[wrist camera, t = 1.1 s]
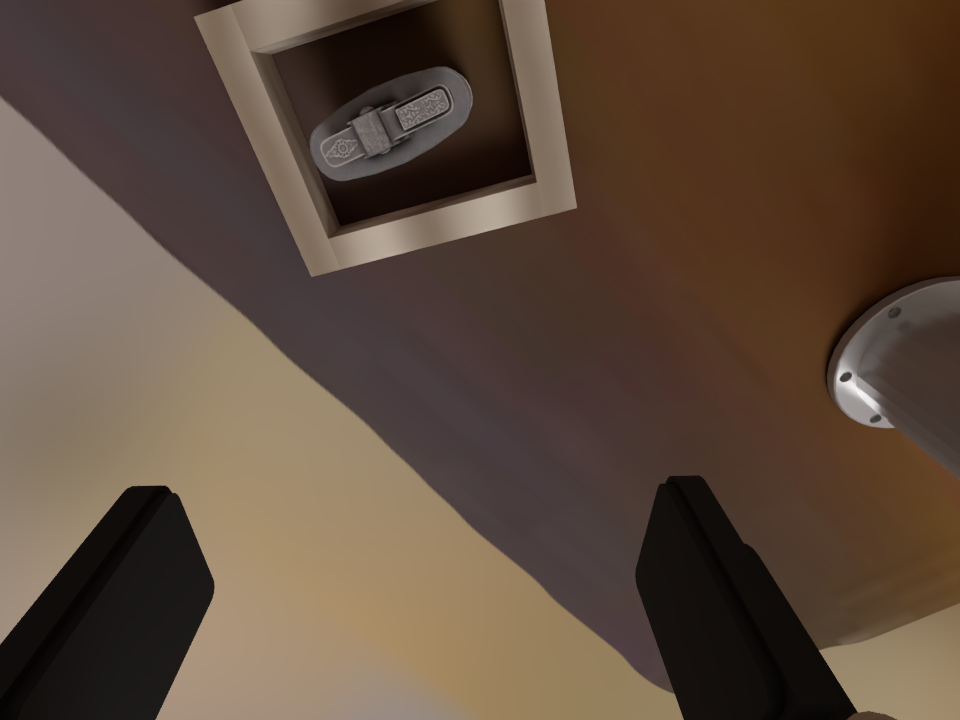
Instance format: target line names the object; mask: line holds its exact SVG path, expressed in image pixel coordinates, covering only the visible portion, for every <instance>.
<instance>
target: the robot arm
mask: <svg viewBox="0 0 960 720" xmlns="http://www.w3.org/2000/svg"><path fill="white" fill-rule="evenodd" d="M827 384H828V390H829V393H830V396H831V398H832V400H833V401H834V402H835V404H836V405H837V406H838V408H839V409H841V410H842V411H843V412H844V413H845V414H846V415H847V416H848V417H850V418H852V419H853V420H855V421H857V422H859V423H861V424H864V425H867V426H871V427H879V428H896V429H898V430H899V431H900V432H901V433H902V434H904V435H905V436H906V437H907V438H909V439H910V440H911V441H912V442H913V443H915V444H916V445H917V446H918V447H919V448H921V449H922V450H923V451H924V452H926V453H927V454H928V455H929V456H930V457H932V458H933V459H934V460H935V461H937V462H938V463H939V464H940V465H941V466H943V467H944V468H945V469H946V470H947V471H949V472H950V473H951V474H952V475H954V476H955V477H956V478H957V479H958V480H960V276H950V277H938V278H934V279H929V280H925V281H921V282H918V283H915V284H913V285H910V286H907V287H905V288H902V289H900V290H899V291H897V292H895V293H893V294H891V295H889V296H887V297H885V298H884V299H882V300H881V301H879V302H878V303H877V304H875V305H874V306H872V307H871V308H869V309H868V310H867V311H866V312H865V313H864V314H863V315H862V316H861V317H859V318H858V319H857V320H856V321H855V322H854V323H853V324H852V326H851V327H850V328H849V329H848V330H847V332H846V333H845V334H844V335H843V337H842V338H841V340H840V341H839V343H838V345H837V346H836V348H835V350H834V352H833V355H832V357H831V360H830V362H829V367H828V373H827ZM635 576H636V584H637V588H638V591H639V594H640V597H641V599H642V602H643V605H644V608H645V611H646V614H647V616H648V619H649V622H650V625H651V628H652V631H653V633H654V636H655V639H656V642H657V645H658V648H659V650H660V653H661V656H662V659H663V662H664V665H665V667H666V670H667V673H668V676H669V679H670V682H671V684H672V687H673V690H674V693H675V696H676V699H677V701H678V704H679V707H680V710H681V713H682V715H683V718H684V720H897V719H894V718H892V717H890V716H888V715H885V714H880V713H874V712H870V711H867V712H861V713H858V712H857V711H856V709H855V707H854V706H853V704H852V703H851V701H850V699H849V698H848V696H847V695H846V693H845V692H844V690H843V688H842V687H841V685H840V684H839V682H838V681H837V679H836V677H835V676H834V674H833V672H832V671H831V669H830V668H829V666H828V665H827V663H826V661H825V660H824V658H823V657H822V655H821V653H820V652H819V650H818V649H817V647H816V646H815V644H814V642H813V641H812V639H811V638H810V636H809V634H808V633H807V631H806V630H805V628H804V626H803V625H802V623H801V622H800V620H799V619H798V617H797V615H796V614H795V612H794V611H793V609H792V607H791V606H790V604H789V603H788V601H787V600H786V598H785V596H784V595H783V593H782V592H781V590H780V588H779V587H778V585H777V584H776V582H775V581H774V579H773V577H772V576H771V574H770V573H769V571H768V569H767V568H766V566H765V565H764V563H763V562H762V560H761V558H760V557H759V555H758V554H757V553H756V552H755V550H754V549H753V548H752V547H750V546H749V545H747V544H744V543H743V542H742V540H741V538H740V537H739V535H738V533H737V532H736V530H735V529H734V527H733V525H732V524H731V522H730V520H729V519H728V517H727V516H726V514H725V512H724V511H723V509H722V507H721V506H720V504H719V503H718V501H717V499H716V498H715V496H714V494H713V493H712V491H711V490H710V488H709V486H708V485H707V483H706V481H705V480H704V479H703V478H702V477H701V476H670V477H669V478H668V479H667V481H666V484H660V485H659V487H658V489H657V493H656V497H655V500H654V504H653V508H652V511H651V515H650V519H649V522H648V526H647V530H646V534H645V537H644V541H643V545H642V548H641V552H640V556H639V559H638V563H637V567H636V575H635ZM213 594H214V580H213V577H212V575H211V573H210V570H209V568H208V565H207V563H206V561H205V558H204V556H203V553H202V551H201V548H200V546H199V544H198V541H197V539H196V536H195V534H194V532H193V529H192V527H191V524H190V522H189V520H188V517H187V515H186V512H185V510H184V507H183V505H182V503H181V500H180V498H179V496H178V495H177V494H176V493H172V492H171V491H170V489H169V488H168V487H166V486H132V487H130V488H127V489H126V490H125V491H124V492H123V493H122V495H121V496H120V497H119V498H118V500H117V501H116V502H115V503H114V505H113V506H112V507H111V508H110V509H109V511H108V512H107V513H106V514H105V516H104V517H103V518H102V519H101V521H100V522H99V523H98V524H97V526H96V527H95V528H94V529H93V531H92V532H91V533H90V534H89V535H88V537H87V538H86V539H85V540H84V542H83V543H82V544H81V545H80V547H79V548H78V549H77V551H76V552H75V553H74V554H73V555H72V557H71V558H70V559H69V560H68V562H67V563H66V564H65V565H64V566H63V568H62V569H61V570H60V571H59V573H58V574H57V576H55V578H54V579H53V580H52V581H51V583H50V584H49V585H48V586H47V587H46V589H45V590H44V591H43V592H42V594H41V595H40V596H39V597H38V599H37V600H36V601H35V602H34V604H33V605H32V606H31V607H30V609H29V610H28V611H27V612H26V614H25V615H24V616H23V617H22V618H21V620H20V621H19V622H18V623H17V625H16V626H15V627H14V628H13V630H12V631H11V632H10V633H9V635H8V636H7V637H6V638H5V640H4V641H3V642H2V643H1V645H0V720H155V719H156V717H157V715H158V713H159V711H160V709H161V707H162V705H163V702H164V700H165V698H166V696H167V694H168V691H169V690H170V688H171V685H172V683H173V681H174V679H175V677H176V675H177V673H178V671H179V669H180V666H181V664H182V662H183V660H184V658H185V656H186V654H187V651H188V649H189V647H190V645H191V643H192V641H193V639H194V637H195V635H196V632H197V630H198V628H199V626H200V624H201V622H202V619H203V617H204V615H205V613H206V611H207V609H208V607H209V605H210V603H211V600H212V598H213Z"/></svg>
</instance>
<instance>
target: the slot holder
mask: <svg viewBox="0 0 960 720" xmlns="http://www.w3.org/2000/svg"><path fill="white" fill-rule="evenodd" d="M434 1H437V0H242V1H239V2H236V3H233V4H230V5H227V6H225V7H222V8H219V9H216V10H213V11H210V12H207V13H204V14H201V15H198V16H195V17H194V19H195V21H196V23H197V25H198V27H199V30H200V32H201V34H202V36H203V38H204V41H205V43H206V45H207V47H208V50H209V52H210V54H211V56H212V58H213V61H214V63H215V65H216V67H217V69H218V72H219V74H220V76H221V78H222V80H223V83H224V85H225V87H226V89H227V92H228V94H229V96H230V98H231V100H232V103H233V105H234V107H235V109H236V111H237V114H238V116H239V118H240V120H241V122H242V125H243V127H244V129H245V131H246V133H247V136H248V138H249V140H250V142H251V145H252V147H253V149H254V151H255V153H256V156H257V158H258V160H259V162H260V164H261V167H262V169H263V171H264V173H265V175H266V178H267V180H268V182H269V184H270V187H271V189H272V191H273V193H274V195H275V198H276V200H277V202H278V204H279V206H280V209H281V211H282V213H283V215H284V217H285V220H286V222H287V224H288V226H289V228H290V231H291V233H292V235H293V237H294V240H295V242H296V244H297V246H298V248H299V251H300V253H301V255H302V257H303V259H304V262H305V264H306V266H307V268H308V270H309V273H310V275H311V277H313V276H317V275H321V274H325V273H329V272H333V271H336V270H340V269H344V268H348V267H352V266H356V265H359V264H363V263H367V262H371V261H375V260H379V259H382V258H386V257H390V256H394V255H398V254H402V253H406V252H409V251H413V250H417V249H421V248H425V247H429V246H432V245H436V244H440V243H444V242H448V241H452V240H455V239H459V238H463V237H467V236H471V235H475V234H479V233H482V232H486V231H490V230H494V229H498V228H502V227H505V226H509V225H513V224H517V223H521V222H525V221H528V220H532V219H536V218H540V217H544V216H548V215H552V214H555V213H559V212H563V211H567V210H571V209H575V208H577V206H576V199H575V193H574V187H573V180H572V174H571V167H570V161H569V155H568V148H567V142H566V136H565V129H564V123H563V117H562V110H561V104H560V98H559V91H558V85H557V78H556V72H555V66H554V59H553V53H552V47H551V40H550V34H549V28H548V21H547V15H546V9H545V2H544V0H498V2H499V7H500V12H501V17H502V22H503V27H504V33H505V38H506V43H507V48H508V53H509V58H510V63H511V68H512V74H513V79H514V84H515V89H516V94H517V99H518V104H519V109H520V115H521V120H522V125H523V130H524V135H525V140H526V145H527V150H528V155H529V161H530V166H531V171H532V174H531V175H528V176H524V177H520V178H517V179H513V180H509V181H505V182H502V183H498V184H494V185H491V186H487V187H483V188H480V189H476V190H472V191H469V192H465V193H461V194H458V195H454V196H450V197H447V198H443V199H439V200H436V201H432V202H428V203H425V204H421V205H417V206H414V207H410V208H406V209H403V210H399V211H395V212H392V213H388V214H384V215H380V216H377V217H373V218H369V219H366V220H362V221H358V222H355V223H351V224H347V225H344V226H340V224H339V222H338V219H337V217H336V214H335V212H334V209H333V207H332V204H331V202H330V199H329V197H328V194H327V192H326V189H325V187H324V184H323V182H322V179H321V177H320V174H319V172H318V169H317V167H316V164H315V162H314V160H313V157H312V155H311V152H310V149H309V147H308V144H307V142H306V139H305V137H304V134H303V132H302V129H301V127H300V124H299V122H298V119H297V117H296V114H295V112H294V109H293V107H292V104H291V102H290V99H289V97H288V94H287V92H286V89H285V87H284V84H283V82H282V79H281V77H280V74H279V72H278V69H277V67H276V64H275V62H274V59H273V57H272V54H274V53H277V52H281V51H284V50H287V49H290V48H293V47H296V46H299V45H302V44H305V43H308V42H311V41H314V40H317V39H321V38H324V37H327V36H330V35H333V34H336V33H339V32H342V31H345V30H348V29H351V28H354V27H357V26H361V25H364V24H367V23H370V22H373V21H376V20H379V19H382V18H385V17H388V16H391V15H394V14H397V13H401V12H404V11H407V10H410V9H413V8H416V7H419V6H422V5H425V4H428V3H431V2H434Z"/></svg>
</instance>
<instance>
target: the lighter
mask: <svg viewBox="0 0 960 720" xmlns="http://www.w3.org/2000/svg"><path fill="white" fill-rule="evenodd" d="M472 101H473V95H472V91H471V87H470V85H469V84H468V82H467V80H466V79H465V78H464V77H463V76H462V75H461V74H459V73H457V72H456V71H454V70H452V69H450V68H448V67H434V68H430V69H426V70H422V71H418V72H414V73H410V74H406V75H403V76H400V77H398V78H396V79H393V80H391V81H388V82H386V83H383V84H381V85H378V86H376V87H373V88H371V89H369V90H368V91H366V92H364V93H363V94H361V95H359V96H358V97H356V98H355V99H353V100H351V101H350V102H348V103H346V104H345V105H343V106H342V107H340V108H339V109H338V110H337V111H336V112H334V113H333V114H332V115H331V116H330V117H328V118H327V119H326V120H325V121H323V122H322V123H321V124H320V125H319V126H317V127H316V129H315V130H314V131H313V133H312V135H311V140H310V150H311V155H312V157H313V160H314V162H315V164H316V165H317V167H318V168H319V169H320V171H321V172H322V173H324V174H325V175H326V176H327V177H329V178H331V179H334V180H336V181H347V180H352V179H356V178H360V177H365V176H369V175H373V174H377V173H379V172H382V171H385V170H387V169H390V168H393V167H395V166H398V165H401V164H404V163H406V162H408V161H410V160H411V159H413V158H415V157H417V156H418V155H420V154H422V153H424V152H426V151H427V150H429V149H431V148H433V147H434V146H436V145H437V144H438V143H440V142H441V141H442V140H444V139H445V138H446V137H448V136H449V135H450V134H452V133H453V132H454V131H456V130H457V129H458V128H460V127H461V126H462V125H463V124H464V123H465V121H466V120H467V118H468V116H469V113H470V110H471V107H472Z"/></svg>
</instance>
